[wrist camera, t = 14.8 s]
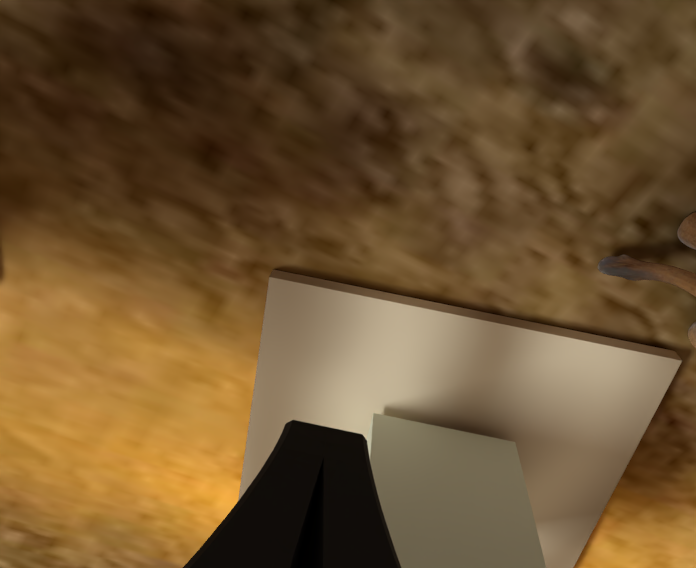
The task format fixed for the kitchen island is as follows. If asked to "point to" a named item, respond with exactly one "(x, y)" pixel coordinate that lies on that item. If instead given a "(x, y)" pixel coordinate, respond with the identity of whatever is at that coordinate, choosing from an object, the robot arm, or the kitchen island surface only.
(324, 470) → the robot arm
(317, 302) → the flat beige square board
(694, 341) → the lion figurine
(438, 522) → the pale green matte block
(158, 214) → the kitchen island surface
